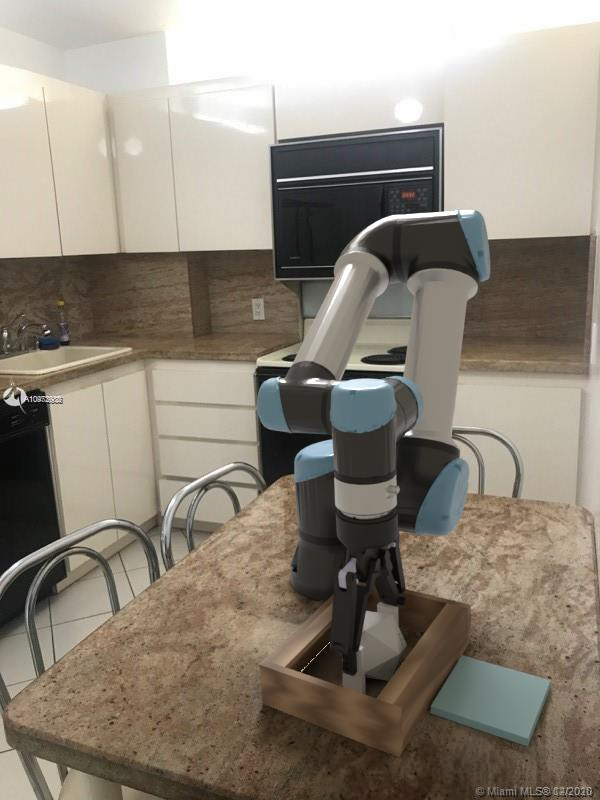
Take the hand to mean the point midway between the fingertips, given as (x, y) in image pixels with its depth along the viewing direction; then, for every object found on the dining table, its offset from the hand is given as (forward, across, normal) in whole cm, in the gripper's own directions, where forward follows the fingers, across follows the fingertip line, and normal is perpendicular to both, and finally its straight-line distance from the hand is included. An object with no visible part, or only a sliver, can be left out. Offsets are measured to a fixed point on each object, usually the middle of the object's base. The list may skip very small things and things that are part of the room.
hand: (372, 669), depth 85 cm
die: (0, 0, 0) cm, 0 cm away
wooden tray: (0, 0, 0) cm, 0 cm away
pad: (0, +2, -15) cm, 15 cm away
